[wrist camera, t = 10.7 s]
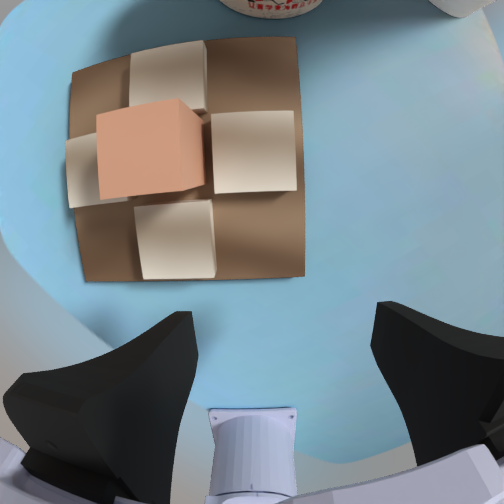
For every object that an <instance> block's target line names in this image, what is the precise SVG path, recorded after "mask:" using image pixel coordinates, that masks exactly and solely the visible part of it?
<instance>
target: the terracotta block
mask: <svg viewBox="0 0 504 504" xmlns="http://www.w3.org/2000/svg"><path fill="white" fill-rule="evenodd" d="M96 133H97V162H98V177H99V190H100V200H103V199H111V198H119V197H127V196H136V195H145V194H154V193H164V192H175V191H184V190H187V189H191V188H194V187H198V186H201V185H205V184H206V168H205V149H204V126H203V120H202V119H201V118H200V117H199V116H198V115H197V114H195V113H194V112H193V111H192V110H191V109H190V108H189V107H188V106H187V105H186V104H185V103H183V102H182V101H181V100H180V99H179V98H176V99H169V100H163V101H157V102H152V103H146V104H141V105H136V106H131V107H127V108H122V109H118V110H114V111H110V112H106V113H102V114H98V115H96Z"/></svg>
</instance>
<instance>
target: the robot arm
mask: <svg viewBox="0 0 504 504" xmlns="http://www.w3.org/2000/svg"><path fill="white" fill-rule="evenodd" d="M370 346H371V349H372V352H373V355H374V358H375V360H376V363H377V365H378V367H379V369H380V371H381V373H382V375H383V377H384V379H385V380H386V382H387V384H388V386H389V388H390V390H391V392H392V393H393V395H394V397H395V399H396V401H397V403H398V405H399V407H400V409H401V412H402V414H403V417H404V420H405V423H406V426H407V429H408V432H409V435H410V439H411V442H412V446H413V450H414V453H415V458H416V463H417V467H415V468H412V469H409V470H406V471H402V472H400V473H396V474H392V475H389V476H385V477H381V478H377V479H373V480H369V481H365V482H360V483H355V484H351V485H345V486H340V487H334V488H328V489H324V490H320V491H316V492H311V493H306V494H301V495H297V486H296V477H295V468H294V458H293V449H294V439H295V428H296V417H297V411H296V409H295V408H275V409H211V410H209V413H208V415H209V420H210V424H211V429H212V433H213V438H214V442H215V452H214V459H213V467H212V475H211V482H210V490H209V496H205V503H204V504H504V337H498V336H492V335H486V334H481V333H476V332H472V331H469V330H465V329H461V328H458V327H455V326H452V325H449V324H447V323H444V322H442V321H439V320H437V319H434V318H432V317H429V316H427V315H425V314H422V313H420V312H418V311H416V310H413V309H411V308H409V307H407V306H404V305H402V304H399V303H396V302H393V301H385V302H377V308H376V314H375V321H374V327H373V333H372V339H371V344H370ZM197 361H198V350H197V344H196V337H195V331H194V324H193V317H192V311H176V312H174V313H172V314H171V315H169V316H168V317H166V318H165V319H163V320H162V321H160V322H159V323H158V324H156V325H155V326H153V327H152V328H150V329H149V330H147V331H146V332H144V333H143V334H141V335H139V336H138V337H136V338H135V339H133V340H131V341H130V342H128V343H126V344H124V345H123V346H121V347H119V348H117V349H115V350H113V351H110V352H108V353H106V354H104V355H102V356H99V357H96V358H94V359H91V360H88V361H85V362H82V363H79V364H75V365H72V366H68V367H63V368H59V369H54V370H49V371H40V372H32V373H23V374H22V375H21V376H20V377H19V378H18V379H17V380H16V381H15V383H14V384H13V385H12V386H11V387H10V388H9V389H8V391H6V393H5V394H4V396H3V404H4V407H5V410H6V413H7V415H8V416H9V418H10V420H11V421H12V423H13V424H14V426H15V427H16V429H17V430H18V431H19V433H20V434H21V435H22V437H23V438H24V440H25V441H26V442H27V444H28V445H29V446H30V449H29V450H28V452H27V453H25V452H24V451H23V450H21V449H20V448H19V447H17V446H15V445H14V444H12V443H10V442H8V441H6V440H5V439H3V438H1V437H0V504H170V493H171V482H172V471H173V464H174V456H175V449H176V443H177V437H178V431H179V427H180V423H181V419H182V416H183V412H184V409H185V406H186V403H187V400H188V397H189V394H190V391H191V387H192V384H193V381H194V378H195V373H196V368H197ZM290 415H292V416H290Z"/></svg>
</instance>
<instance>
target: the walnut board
mask: <svg viewBox="0 0 504 504" xmlns="http://www.w3.org/2000/svg"><path fill="white" fill-rule="evenodd" d="M176 98H179V99H180V100H181V101H182V102H183V103H185V104H186V105H187V106H188V107H189V108H190V109H191V110H192V111H193V112H194V113H195V114H197V115H198V116H199V117H200V118H201V119H202V120H203V126H204V149H205V168H206V184H205V185H201V186H198V187H194V188H191V189H187V190H184V191H175V192H164V193H154V194H145V195H136V196H127V197H119V198H111V199H103V200H100V190H99V177H98V162H97V133H96V115H98V114H102V113H106V112H110V111H114V110H118V109H122V108H127V107H131V106H136V105H141V104H146V103H152V102H157V101H163V100H169V99H176ZM65 154H66V175H67V188H68V199H69V208H74V213H75V221H76V228H77V235H78V242H79V248H80V253H81V259H82V264H83V269H84V274H85V279H86V281H186V280H227V279H257V278H283V277H305V182H304V151H303V129H302V111H301V95H300V82H299V69H298V58H297V47H296V37H242V38H227V39H216V40H206V41H203V40H199V41H191V42H185V43H178V44H173V45H167V46H162V47H157V48H152V49H147V50H143V51H139V52H135V53H131V54H130V55H126V56H123V57H119V58H115V59H112V60H108V61H105V62H102V63H99V64H96V65H93V66H90V67H87V68H84V69H81V70H78V71H75V72H73V73H72V83H71V97H70V139H69V140H66V141H65Z"/></svg>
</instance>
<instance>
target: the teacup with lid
mask: <svg viewBox="0 0 504 504" xmlns="http://www.w3.org/2000/svg"><path fill="white" fill-rule="evenodd" d="M220 1H221V2H222V3H223V4H225V5H226V6H228V7H229V8H231V9H233V10H235V11H237V12H239V13H242V14H245V15H249V16H253V17H258V18H268V19H280V18H289V17H294V16H298V15H301V14H304V13H306V12H309V11H311V10H312V9H314V8H315V7H317V6H318V5H319V4H320V3H321V2H322V1H323V0H220Z"/></svg>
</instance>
